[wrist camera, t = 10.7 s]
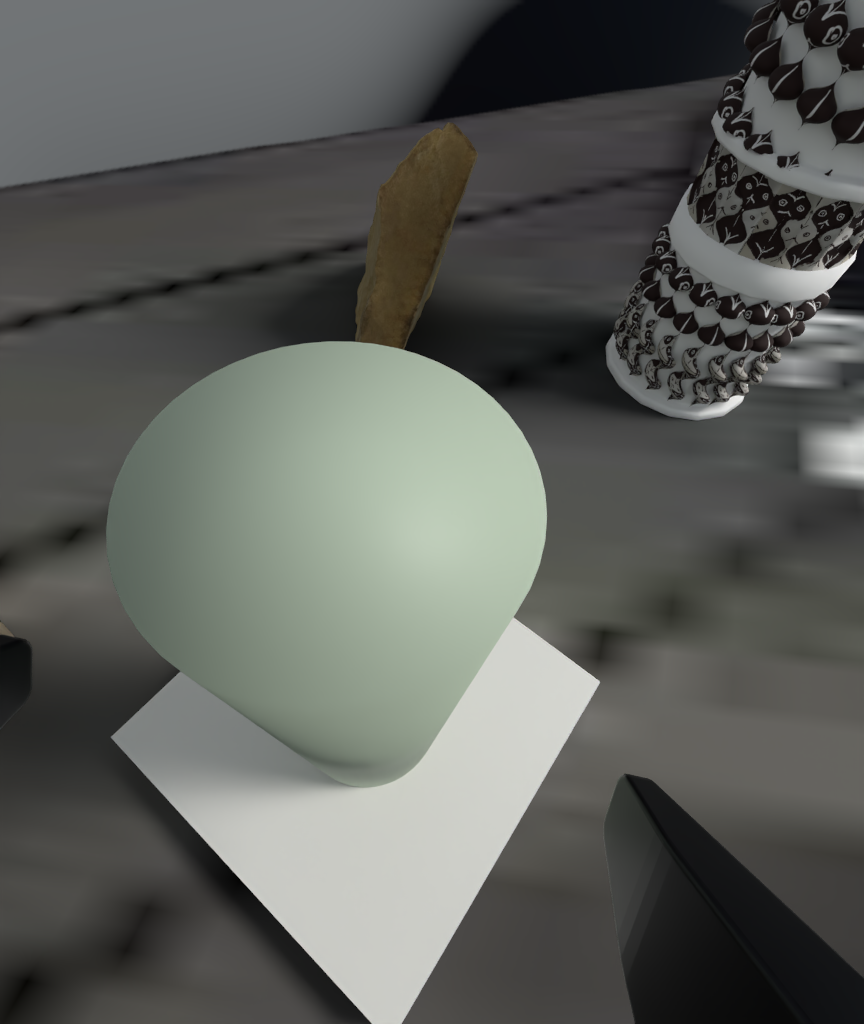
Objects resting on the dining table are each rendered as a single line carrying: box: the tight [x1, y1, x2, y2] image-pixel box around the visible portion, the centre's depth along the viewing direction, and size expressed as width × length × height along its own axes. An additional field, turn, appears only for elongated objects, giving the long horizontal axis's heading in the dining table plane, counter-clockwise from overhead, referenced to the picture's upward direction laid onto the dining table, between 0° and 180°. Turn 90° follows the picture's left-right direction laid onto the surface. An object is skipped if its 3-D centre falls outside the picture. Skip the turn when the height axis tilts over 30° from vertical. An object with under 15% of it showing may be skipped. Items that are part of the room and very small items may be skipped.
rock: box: [355, 123, 478, 350], centre depth 28 cm, size 11×9×10 cm
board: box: [111, 617, 600, 1024], centre depth 18 cm, size 12×12×2 cm
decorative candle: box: [606, 0, 864, 421], centre depth 20 cm, size 9×9×25 cm
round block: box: [106, 341, 547, 788], centre depth 12 cm, size 5×5×14 cm
